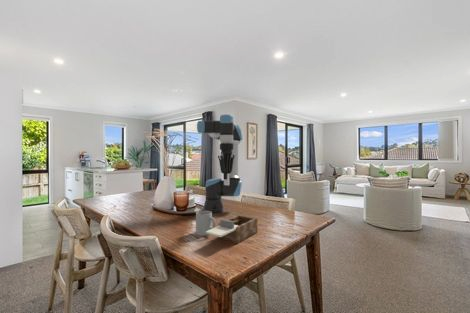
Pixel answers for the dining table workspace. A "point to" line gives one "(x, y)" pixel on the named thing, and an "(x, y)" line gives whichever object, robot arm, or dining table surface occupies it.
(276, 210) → the dining table surface
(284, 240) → the dining table surface
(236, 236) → the box
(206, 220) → the mug
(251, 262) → the dining table surface
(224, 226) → the lid
